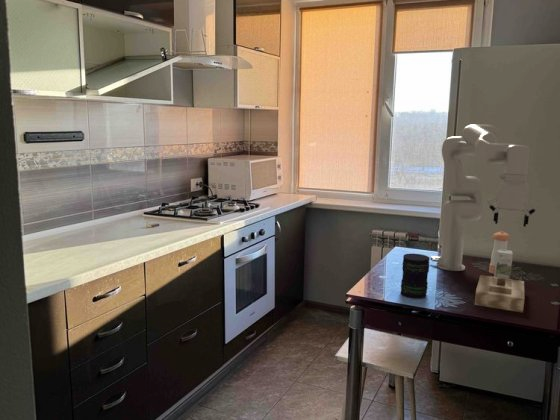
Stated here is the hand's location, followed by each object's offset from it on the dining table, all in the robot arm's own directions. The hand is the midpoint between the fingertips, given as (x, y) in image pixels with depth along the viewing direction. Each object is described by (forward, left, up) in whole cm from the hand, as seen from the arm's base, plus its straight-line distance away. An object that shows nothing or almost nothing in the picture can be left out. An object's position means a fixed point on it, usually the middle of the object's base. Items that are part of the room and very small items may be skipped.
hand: (510, 224), depth 188 cm
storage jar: (-31, -13, -29) cm, 44 cm away
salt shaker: (-3, +38, -29) cm, 48 cm away
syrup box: (-1, +19, -29) cm, 34 cm away
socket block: (-1, -1, -29) cm, 29 cm away
